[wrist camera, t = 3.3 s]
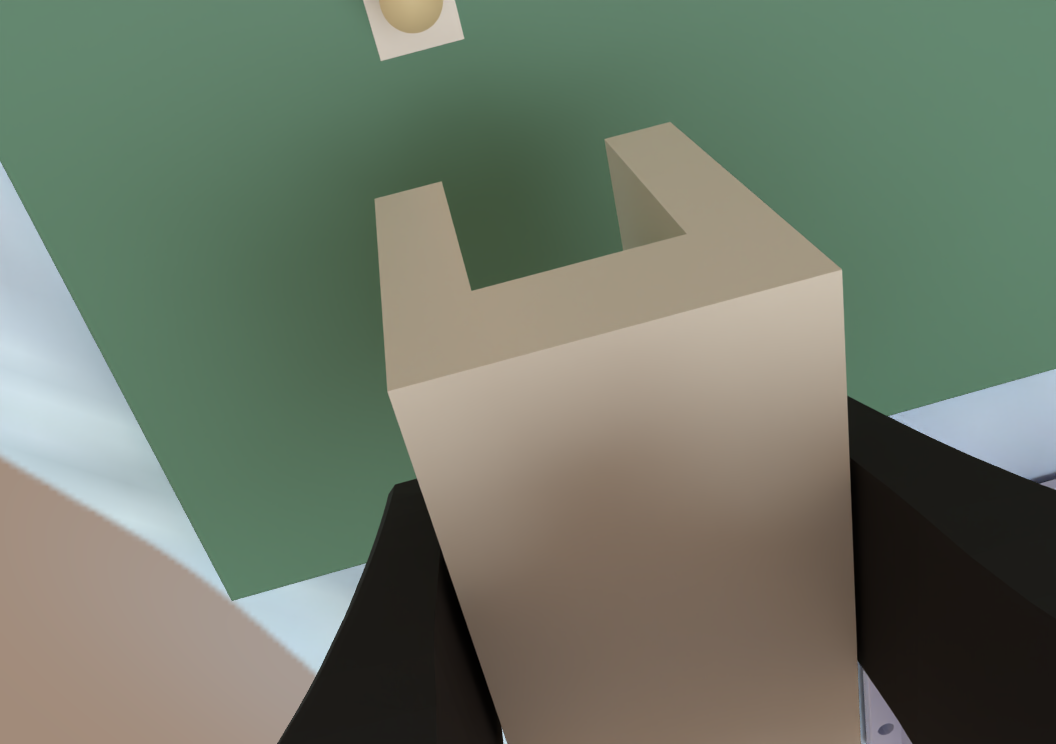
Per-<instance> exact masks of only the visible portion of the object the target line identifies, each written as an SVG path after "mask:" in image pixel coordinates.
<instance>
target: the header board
mask: <svg viewBox="0 0 1056 744" xmlns="http://www.w3.org/2000/svg"><path fill="white" fill-rule="evenodd" d="M668 122H671V123H672V124H673V125H674V126H676V127H677V128H678V129H679V130H680V131H681V132H683V133H684V134H685V135H686V136H687V137H688V138H690V139H691V140H692V141H693V142H694V143H695V144H697V145H698V146H699V147H700V148H701V149H702V150H703V151H705V152H706V153H707V154H708V155H709V156H710V157H712V158H713V159H714V160H715V161H716V162H717V163H719V164H720V165H721V166H722V167H723V168H724V169H726V170H727V171H728V172H729V173H730V174H731V175H733V176H734V177H735V178H736V179H737V180H738V181H740V182H741V183H742V184H743V185H744V186H745V187H747V188H748V189H749V190H750V191H751V192H752V193H754V194H755V195H756V196H757V197H758V198H759V199H761V200H762V201H763V202H764V203H765V204H766V205H768V206H769V207H770V208H771V209H772V210H773V211H774V212H776V213H777V214H778V215H779V216H780V217H781V218H783V219H784V220H785V221H786V222H787V223H788V224H790V225H791V226H792V227H793V228H794V229H795V230H797V231H798V232H799V233H800V234H801V235H802V236H804V237H805V238H806V239H807V240H808V241H809V242H811V243H812V244H813V245H814V246H815V247H816V248H818V249H819V250H820V251H821V252H822V253H823V254H825V255H826V256H827V257H828V258H829V259H830V260H832V261H833V262H834V263H835V264H836V265H837V266H839V267H840V268H841V269H842V279H843V305H844V330H845V356H846V381H847V396H849V397H851V398H853V399H855V400H857V401H859V402H861V403H863V404H865V405H867V406H869V407H870V408H872V409H874V410H876V411H878V412H880V413H882V414H884V415H886V416H890V415H893V414H897V413H900V412H904V411H907V410H911V409H915V408H918V407H922V406H925V405H929V404H932V403H936V402H939V401H943V400H947V399H950V398H954V397H957V396H961V395H964V394H968V393H971V392H975V391H978V390H982V389H986V388H989V387H993V386H996V385H1000V384H1003V383H1007V382H1010V381H1014V380H1017V379H1021V378H1025V377H1028V376H1032V375H1035V374H1039V373H1042V372H1046V371H1049V370H1053V369H1056V0H0V161H1V163H2V165H3V167H4V169H5V171H6V173H7V175H8V176H9V178H10V180H11V182H12V184H13V186H14V188H15V190H16V192H17V194H18V195H19V197H20V199H21V201H22V203H23V205H24V207H25V209H26V211H27V213H28V214H29V216H30V218H31V220H32V222H33V224H34V226H35V228H36V230H37V232H38V233H39V235H40V237H41V239H42V241H43V243H44V245H45V247H46V249H47V251H48V252H49V254H50V256H51V258H52V260H53V262H54V264H55V266H56V268H57V270H58V272H59V273H60V275H61V277H62V279H63V281H64V283H65V285H66V287H67V289H68V291H69V292H70V294H71V296H72V298H73V300H74V302H75V304H76V306H77V308H78V310H79V311H80V313H81V315H82V317H83V319H84V321H85V323H86V325H87V327H88V329H89V330H90V332H91V334H92V336H93V338H94V340H95V342H96V344H97V346H98V348H99V349H100V351H101V353H102V355H103V357H104V359H105V361H106V363H107V365H108V367H109V368H110V370H111V372H112V374H113V376H114V378H115V380H116V382H117V384H118V386H119V387H120V389H121V391H122V393H123V395H124V397H125V399H126V401H127V403H128V405H129V406H130V408H131V410H132V412H133V414H134V416H135V418H136V420H137V422H138V424H139V425H140V427H141V429H142V431H143V433H144V435H145V437H146V439H147V441H148V443H149V444H150V446H151V448H152V450H153V452H154V454H155V456H156V458H157V460H158V462H159V463H160V465H161V467H162V469H163V471H164V473H165V475H166V477H167V479H168V481H169V482H170V484H171V486H172V488H173V490H174V492H175V494H176V496H177V498H178V500H179V501H180V503H181V505H182V507H183V509H184V511H185V513H186V515H187V517H188V519H189V520H190V522H191V524H192V526H193V528H194V530H195V532H196V534H197V536H198V538H199V539H200V541H201V543H202V545H203V547H204V549H205V551H206V553H207V555H208V557H209V558H210V560H211V562H212V564H213V566H214V568H215V570H216V572H217V574H218V576H219V577H220V579H221V581H222V583H223V585H224V587H225V589H226V591H227V593H228V595H229V596H230V598H231V600H232V601H233V600H237V599H240V598H244V597H247V596H251V595H255V594H258V593H262V592H265V591H269V590H272V589H276V588H279V587H283V586H286V585H290V584H294V583H297V582H301V581H304V580H308V579H311V578H315V577H318V576H322V575H326V574H329V573H333V572H336V571H340V570H343V569H347V568H350V567H354V566H357V565H361V564H365V563H367V560H368V558H369V555H370V552H371V549H372V546H373V544H374V541H375V538H376V535H377V532H378V529H379V526H380V523H381V519H382V516H383V513H384V509H385V506H386V502H387V498H388V494H389V493H390V491H391V490H392V488H393V487H394V485H395V484H398V483H402V482H406V481H409V480H413V479H417V477H416V474H415V471H414V468H413V465H412V462H411V459H410V456H409V453H408V450H407V447H406V445H405V442H404V439H403V436H402V433H401V430H400V427H399V424H398V421H397V418H396V415H395V412H394V409H393V406H392V403H391V401H390V398H389V395H388V392H387V378H386V363H385V348H384V333H383V318H382V303H381V288H380V273H379V258H378V243H377V228H376V214H375V199H376V198H379V197H383V196H387V195H391V194H395V193H399V192H402V191H406V190H410V189H414V188H418V187H422V186H426V185H429V184H433V183H437V182H441V181H442V184H443V188H444V192H445V195H446V199H447V203H448V206H449V210H450V214H451V217H452V221H453V225H454V229H455V232H456V236H457V240H458V243H459V247H460V251H461V254H462V258H463V262H464V265H465V269H466V273H467V276H468V280H469V284H470V287H471V291H473V290H477V289H481V288H485V287H488V286H492V285H496V284H500V283H504V282H507V281H511V280H515V279H519V278H522V277H526V276H530V275H534V274H537V273H541V272H545V271H549V270H553V269H556V268H560V267H564V266H568V265H571V264H575V263H579V262H583V261H587V260H590V259H594V258H598V257H602V256H605V255H609V254H613V253H617V252H621V251H623V246H622V240H621V234H620V228H619V223H618V217H617V211H616V205H615V199H614V193H613V187H612V181H611V176H610V170H609V164H608V158H607V152H606V146H605V140H604V139H606V138H610V137H614V136H618V135H622V134H625V133H629V132H633V131H637V130H641V129H645V128H649V127H652V126H656V125H660V124H664V123H668Z"/></svg>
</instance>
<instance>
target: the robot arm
mask: <svg viewBox="0 0 1056 744" xmlns="http://www.w3.org/2000/svg"><path fill="white" fill-rule="evenodd" d="M847 407H848V433H849V458H850V484H851V509H852V535H853V561H854V586H855V612H856V637H857V660H858V662H859V663H860V665H861V666H862V668H863V683H864V702H865V721H866V740H867V744H1056V479H1054V480H1050V481H1047V482H1043V483H1040V484H1039V483H1036V482H1033V481H1031V480H1028V479H1026V478H1023V477H1020V476H1018V475H1016V474H1013V473H1011V472H1008V471H1006V470H1004V469H1001V468H999V467H996V466H994V465H992V464H989V463H987V462H984V461H982V460H980V459H977V458H975V457H972V456H970V455H968V454H966V453H964V452H961V451H959V450H957V449H955V448H952V447H950V446H948V445H946V444H944V443H941V442H939V441H937V440H935V439H933V438H931V437H929V436H927V435H925V434H923V433H920V432H918V431H916V430H914V429H912V428H910V427H908V426H906V425H904V424H902V423H900V422H898V421H896V420H894V419H892V418H890V417H888V416H886V415H884V414H882V413H880V412H878V411H876V410H874V409H872V408H870V407H869V406H867V405H865V404H863V403H861V402H859V401H857V400H855V399H853V398H851V397H849V396H847ZM277 744H503V736H502V726H501V723H500V720H499V717H498V714H497V711H496V708H495V706H494V703H493V700H492V697H491V694H490V691H489V688H488V685H487V682H486V679H485V676H484V673H483V670H482V667H481V664H480V662H479V659H478V656H477V653H476V650H475V647H474V644H473V641H472V638H471V635H470V632H469V629H468V626H467V623H466V620H465V618H464V615H463V612H462V609H461V606H460V603H459V600H458V597H457V594H456V591H455V588H454V585H453V582H452V579H451V577H450V574H449V571H448V568H447V565H446V562H445V559H444V556H443V553H442V550H441V547H440V544H439V541H438V538H437V535H436V533H435V530H434V527H433V524H432V521H431V518H430V515H429V512H428V509H427V506H426V503H425V500H424V497H423V494H422V491H421V489H420V486H419V483H418V480H417V479H413V480H409V481H406V482H402V483H398V484H395V485H394V487H393V488H392V490H391V491H390V493H389V494H388V498H387V502H386V506H385V509H384V513H383V516H382V519H381V523H380V526H379V529H378V532H377V535H376V538H375V541H374V544H373V546H372V549H371V552H370V555H369V558H368V560H367V563H366V566H365V568H364V571H363V573H362V576H361V578H360V581H359V583H358V586H357V588H356V591H355V593H354V596H353V598H352V601H351V603H350V606H349V608H348V610H347V612H346V615H345V617H344V619H343V621H342V623H341V625H340V628H339V630H338V632H337V634H336V636H335V638H334V640H333V642H332V644H331V646H330V649H329V651H328V653H327V655H326V657H325V659H324V661H323V663H322V665H321V667H320V669H319V671H318V673H317V675H316V677H315V679H314V681H313V683H312V684H311V686H310V688H309V690H308V692H307V694H306V696H305V697H304V699H303V701H302V703H301V704H300V706H299V708H298V710H297V711H296V713H295V715H294V716H293V718H292V720H291V722H290V723H289V725H288V727H287V728H286V730H285V732H284V733H283V735H282V737H281V738H280V740H279V742H278V743H277Z"/></svg>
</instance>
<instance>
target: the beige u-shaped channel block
mask: <svg viewBox="0 0 1056 744" xmlns="http://www.w3.org/2000/svg"><path fill="white" fill-rule="evenodd" d="M604 140H605V146H606V152H607V158H608V164H609V170H610V176H611V181H612V187H613V193H614V199H615V205H616V211H617V217H618V223H619V228H620V234H621V240H622V246H623V251H621V252H617V253H613V254H609V255H605V256H602V257H598V258H594V259H590V260H587V261H583V262H579V263H575V264H571V265H568V266H564V267H560V268H556V269H553V270H549V271H545V272H541V273H537V274H534V275H530V276H526V277H522V278H519V279H515V280H511V281H507V282H504V283H500V284H496V285H492V286H488V287H485V288H481V289H477V290H473V291H471V287H470V284H469V280H468V276H467V273H466V269H465V265H464V262H463V258H462V254H461V251H460V247H459V243H458V240H457V236H456V232H455V229H454V225H453V221H452V217H451V214H450V210H449V206H448V203H447V199H446V195H445V192H444V188H443V184H442V181H441V182H437V183H433V184H429V185H426V186H422V187H418V188H414V189H410V190H406V191H402V192H399V193H395V194H391V195H387V196H383V197H379V198H376V199H375V214H376V228H377V243H378V258H379V273H380V288H381V303H382V318H383V333H384V348H385V363H386V378H387V392H388V395H389V398H390V401H391V403H392V406H393V409H394V412H395V415H396V418H397V421H398V424H399V427H400V430H401V433H402V436H403V439H404V442H405V445H406V447H407V450H408V453H409V456H410V459H411V462H412V465H413V468H414V471H415V474H416V477H417V480H418V483H419V486H420V489H421V491H422V494H423V497H424V500H425V503H426V506H427V509H428V512H429V515H430V518H431V521H432V524H433V527H434V530H435V533H436V535H437V538H438V541H439V544H440V547H441V550H442V553H443V556H444V559H445V562H446V565H447V568H448V571H449V574H450V577H451V579H452V582H453V585H454V588H455V591H456V594H457V597H458V600H459V603H460V606H461V609H462V612H463V615H464V618H465V620H466V623H467V626H468V629H469V632H470V635H471V638H472V641H473V644H474V647H475V650H476V653H477V656H478V659H479V662H480V664H481V667H482V670H483V673H484V676H485V679H486V682H487V685H488V688H489V691H490V694H491V697H492V700H493V703H494V706H495V708H496V711H497V714H498V717H499V720H500V723H501V726H502V729H503V732H504V735H505V738H506V741H507V744H861V740H860V714H859V689H858V663H857V637H856V612H855V586H854V561H853V535H852V509H851V484H850V458H849V433H848V407H847V381H846V356H845V330H844V305H843V279H842V269H841V268H840V267H839V266H837V265H836V264H835V263H834V262H833V261H832V260H830V259H829V258H828V257H827V256H826V255H825V254H823V253H822V252H821V251H820V250H819V249H818V248H816V247H815V246H814V245H813V244H812V243H811V242H809V241H808V240H807V239H806V238H805V237H804V236H802V235H801V234H800V233H799V232H798V231H797V230H795V229H794V228H793V227H792V226H791V225H790V224H788V223H787V222H786V221H785V220H784V219H783V218H781V217H780V216H779V215H778V214H777V213H776V212H774V211H773V210H772V209H771V208H770V207H769V206H768V205H766V204H765V203H764V202H763V201H762V200H761V199H759V198H758V197H757V196H756V195H755V194H754V193H752V192H751V191H750V190H749V189H748V188H747V187H745V186H744V185H743V184H742V183H741V182H740V181H738V180H737V179H736V178H735V177H734V176H733V175H731V174H730V173H729V172H728V171H727V170H726V169H724V168H723V167H722V166H721V165H720V164H719V163H717V162H716V161H715V160H714V159H713V158H712V157H710V156H709V155H708V154H707V153H706V152H705V151H703V150H702V149H701V148H700V147H699V146H698V145H697V144H695V143H694V142H693V141H692V140H691V139H690V138H688V137H687V136H686V135H685V134H684V133H683V132H681V131H680V130H679V129H678V128H677V127H676V126H674V125H673V124H672V123H671V122H668V123H664V124H660V125H656V126H652V127H649V128H645V129H641V130H637V131H633V132H629V133H625V134H622V135H618V136H614V137H610V138H606V139H604Z"/></svg>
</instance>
